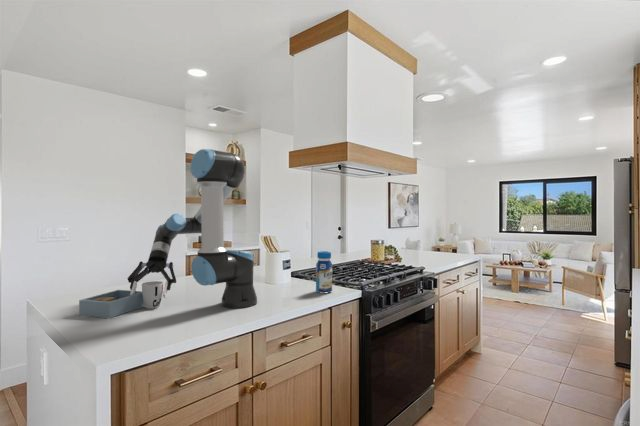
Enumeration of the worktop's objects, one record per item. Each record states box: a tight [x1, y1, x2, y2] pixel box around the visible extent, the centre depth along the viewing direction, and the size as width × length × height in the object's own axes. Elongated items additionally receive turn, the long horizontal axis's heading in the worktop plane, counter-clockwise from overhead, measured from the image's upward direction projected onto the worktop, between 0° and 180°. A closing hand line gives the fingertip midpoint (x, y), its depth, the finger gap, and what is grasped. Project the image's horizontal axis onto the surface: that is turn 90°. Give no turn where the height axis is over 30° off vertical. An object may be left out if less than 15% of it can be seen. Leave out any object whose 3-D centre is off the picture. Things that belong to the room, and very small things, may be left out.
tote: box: [78, 289, 145, 319], centre depth 146 cm, size 14×19×6 cm
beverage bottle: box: [315, 250, 334, 294], centre depth 181 cm, size 8×8×20 cm
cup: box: [141, 280, 164, 310], centre depth 151 cm, size 8×8×10 cm
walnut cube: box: [94, 297, 115, 302], centre depth 141 cm, size 5×5×5 cm
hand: (148, 296), depth 149 cm, fingers open, 12 cm apart
